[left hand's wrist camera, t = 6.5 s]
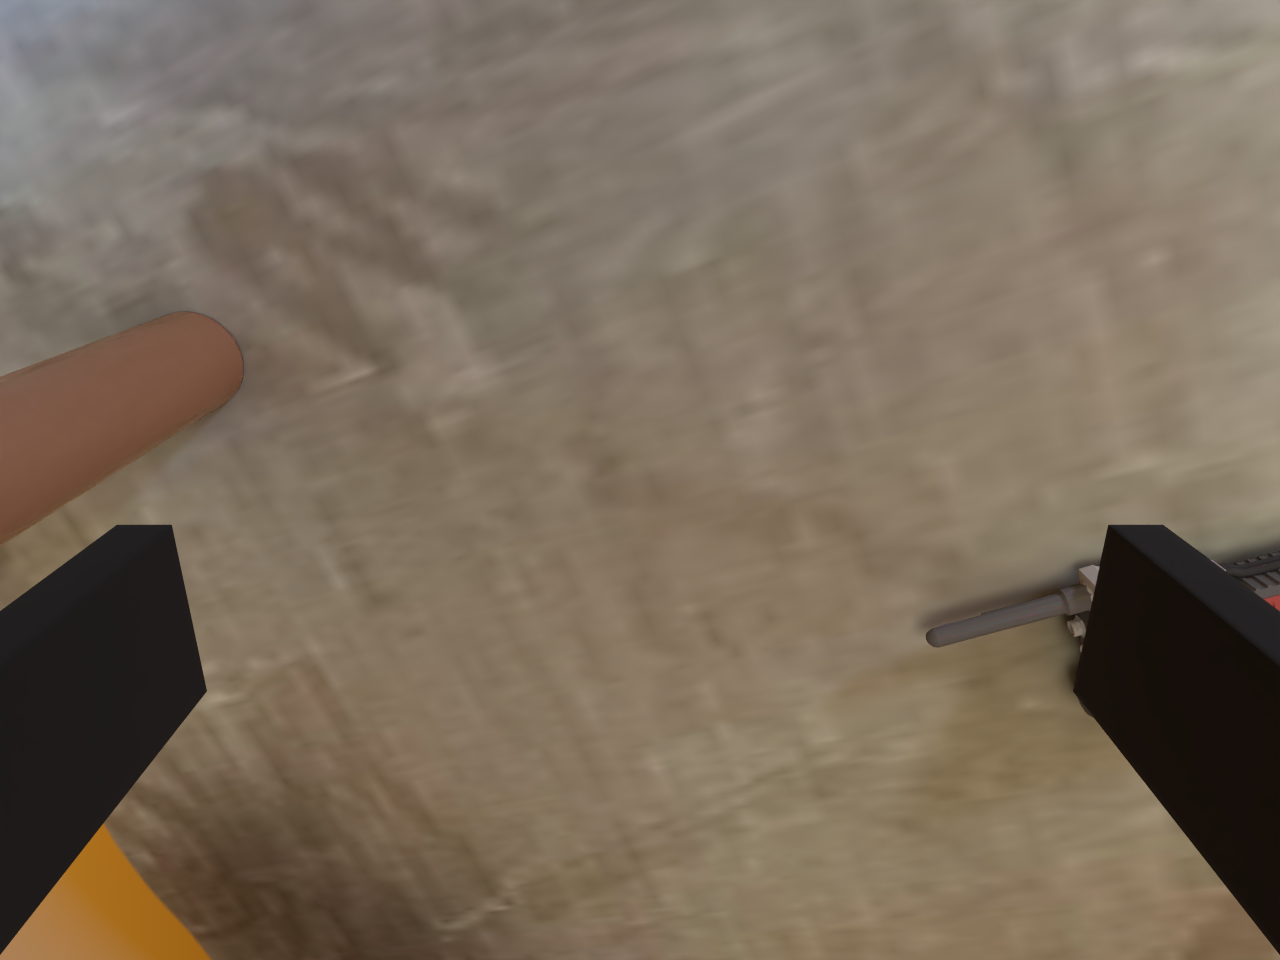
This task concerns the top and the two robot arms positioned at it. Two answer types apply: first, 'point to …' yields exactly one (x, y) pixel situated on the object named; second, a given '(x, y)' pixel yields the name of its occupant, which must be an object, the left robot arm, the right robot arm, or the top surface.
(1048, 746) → the top surface
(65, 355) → the brown cylinder
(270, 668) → the top surface
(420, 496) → the top surface
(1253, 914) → the left robot arm
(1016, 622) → the walkie-talkie
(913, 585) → the top surface
